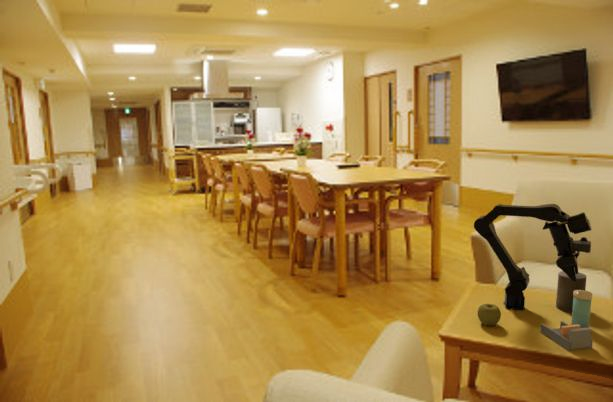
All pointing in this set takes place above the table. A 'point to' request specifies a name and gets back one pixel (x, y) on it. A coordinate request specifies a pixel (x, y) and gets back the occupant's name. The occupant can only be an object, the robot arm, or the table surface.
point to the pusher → (566, 330)
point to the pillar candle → (568, 290)
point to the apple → (489, 314)
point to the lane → (576, 337)
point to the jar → (581, 308)
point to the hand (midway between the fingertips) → (576, 277)
